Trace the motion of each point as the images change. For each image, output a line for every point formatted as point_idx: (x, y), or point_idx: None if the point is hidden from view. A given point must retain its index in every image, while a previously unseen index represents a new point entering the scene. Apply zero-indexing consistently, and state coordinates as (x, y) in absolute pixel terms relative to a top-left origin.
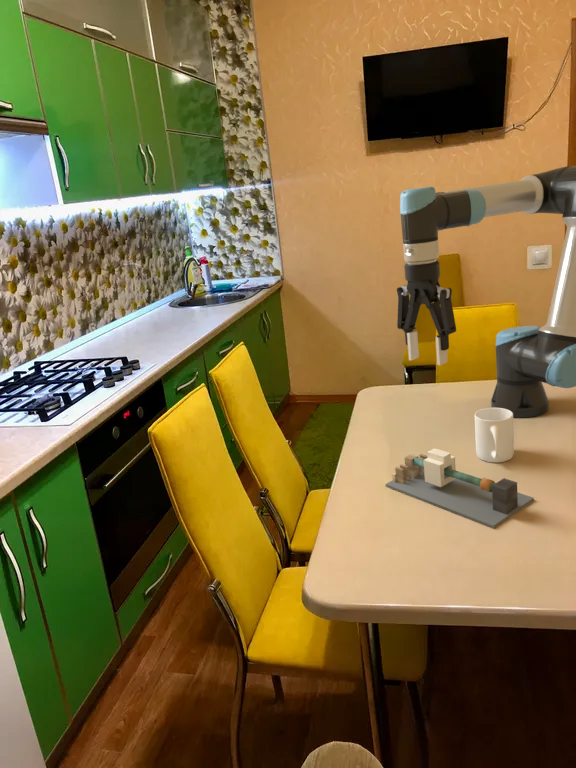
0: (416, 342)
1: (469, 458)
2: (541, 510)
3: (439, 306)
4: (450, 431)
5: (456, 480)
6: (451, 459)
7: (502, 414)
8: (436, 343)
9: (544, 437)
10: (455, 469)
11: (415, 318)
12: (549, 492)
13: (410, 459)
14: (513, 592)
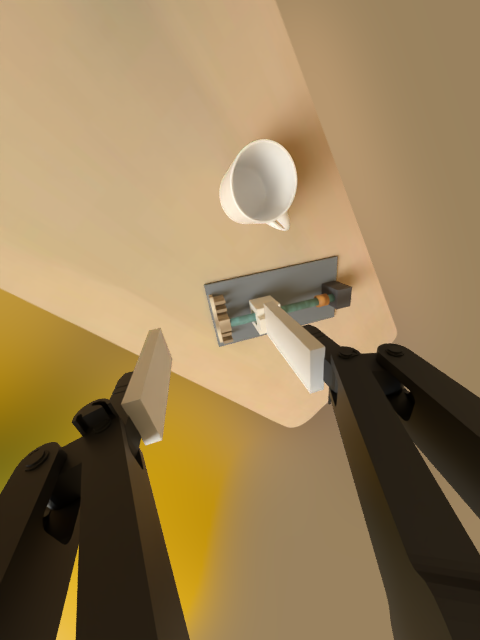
0: (154, 367)
1: (226, 230)
2: (348, 265)
3: (473, 556)
4: (120, 167)
5: (263, 288)
6: None
7: (255, 147)
8: (298, 373)
9: (252, 59)
10: (273, 298)
11: (137, 493)
12: (340, 231)
13: (230, 330)
14: (372, 349)
